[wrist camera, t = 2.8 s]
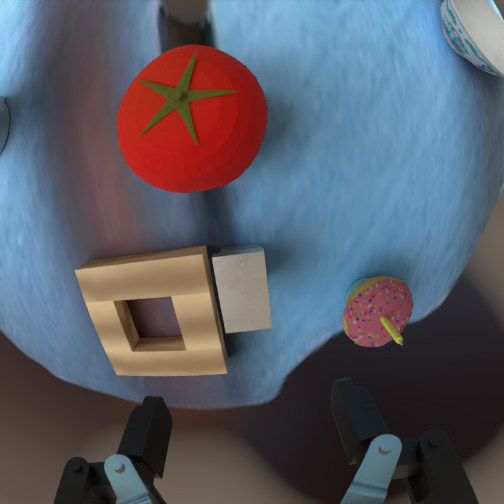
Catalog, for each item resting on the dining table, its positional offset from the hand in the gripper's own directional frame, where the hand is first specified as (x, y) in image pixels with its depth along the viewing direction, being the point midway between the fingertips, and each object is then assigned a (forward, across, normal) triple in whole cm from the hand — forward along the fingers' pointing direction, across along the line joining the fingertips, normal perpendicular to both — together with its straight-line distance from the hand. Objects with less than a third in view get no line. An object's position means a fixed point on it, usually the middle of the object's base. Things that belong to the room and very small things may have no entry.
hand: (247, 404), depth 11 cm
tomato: (+19, +2, -14) cm, 24 cm away
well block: (+19, +11, +5) cm, 22 cm away
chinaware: (+19, -35, -30) cm, 50 cm away
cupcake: (+19, -14, +6) cm, 24 cm away
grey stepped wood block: (+19, 0, 0) cm, 19 cm away
